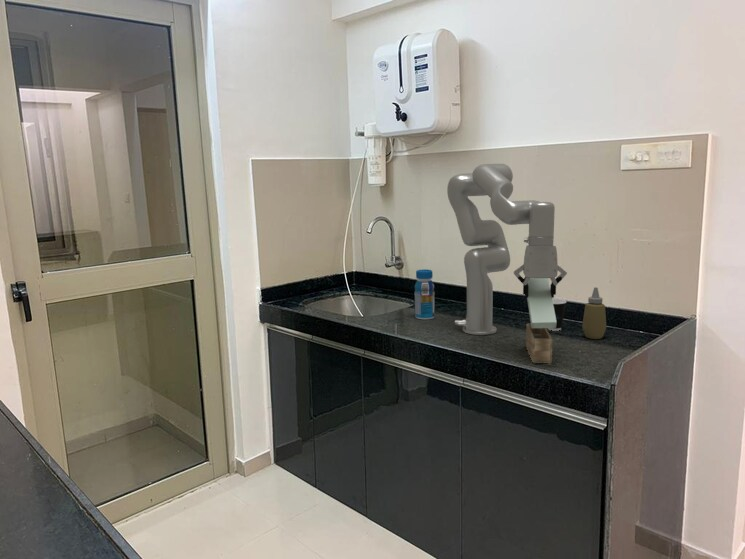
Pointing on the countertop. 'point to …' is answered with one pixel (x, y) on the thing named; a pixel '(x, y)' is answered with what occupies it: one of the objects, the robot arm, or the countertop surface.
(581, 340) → the countertop surface
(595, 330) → the squeeze bottle
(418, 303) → the beverage bottle
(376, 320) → the countertop surface
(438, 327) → the countertop surface
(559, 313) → the dixie cup
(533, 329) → the box
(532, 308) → the lid
